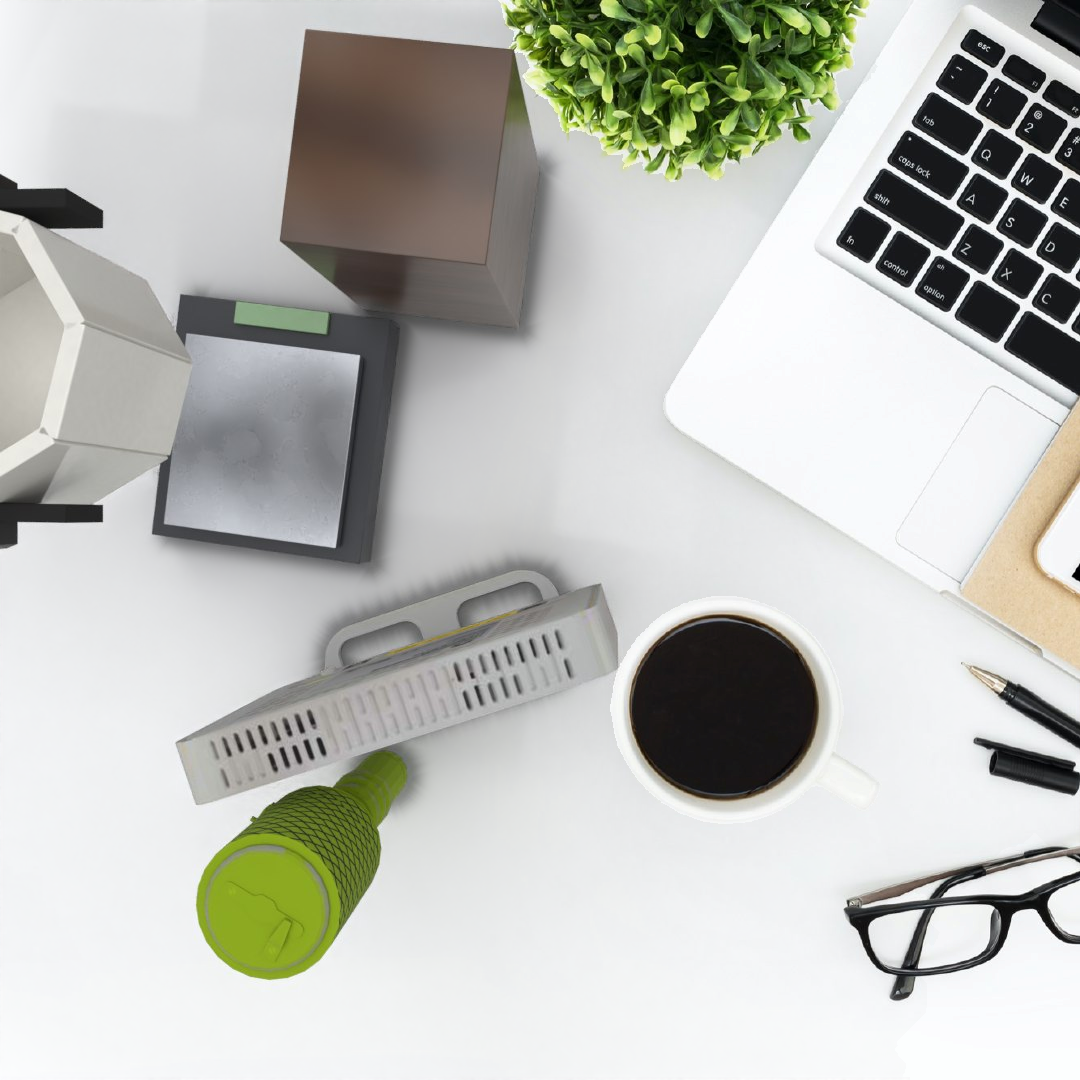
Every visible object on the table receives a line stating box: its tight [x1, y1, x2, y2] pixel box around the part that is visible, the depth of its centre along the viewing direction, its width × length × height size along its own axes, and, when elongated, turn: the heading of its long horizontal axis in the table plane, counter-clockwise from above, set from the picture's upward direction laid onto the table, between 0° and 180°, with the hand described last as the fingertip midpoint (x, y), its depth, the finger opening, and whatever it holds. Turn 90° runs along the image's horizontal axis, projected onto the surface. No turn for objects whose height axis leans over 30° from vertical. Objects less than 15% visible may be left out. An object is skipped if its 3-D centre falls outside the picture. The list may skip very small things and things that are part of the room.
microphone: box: [195, 750, 408, 981], centre depth 59 cm, size 8×8×25 cm
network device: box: [174, 569, 619, 806], centre depth 61 cm, size 26×9×20 cm, turn 109°
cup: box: [0, 210, 193, 505], centre depth 39 cm, size 11×11×9 cm
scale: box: [151, 293, 401, 565], centre depth 70 cm, size 18×16×3 cm
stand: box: [279, 28, 541, 329], centre depth 61 cm, size 12×12×18 cm
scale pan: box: [164, 333, 364, 548], centre depth 68 cm, size 14×13×1 cm
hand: (86, 361), depth 38 cm, fingers closed on cup, 12 cm apart
